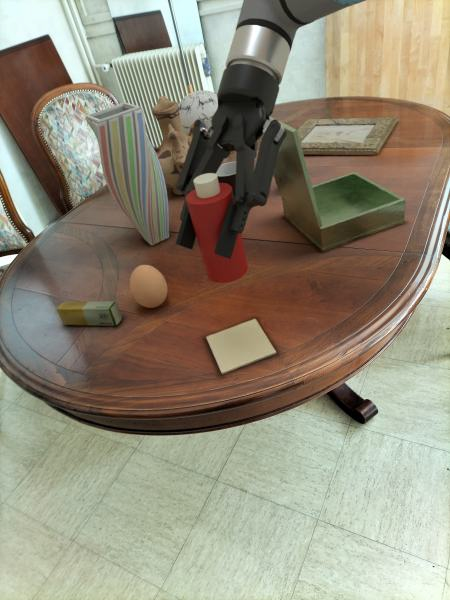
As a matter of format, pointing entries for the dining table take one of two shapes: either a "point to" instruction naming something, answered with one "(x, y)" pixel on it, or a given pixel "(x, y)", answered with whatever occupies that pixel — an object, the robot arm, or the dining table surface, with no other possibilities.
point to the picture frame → (345, 135)
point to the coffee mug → (227, 175)
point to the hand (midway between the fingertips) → (202, 251)
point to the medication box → (90, 313)
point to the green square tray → (348, 211)
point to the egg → (148, 286)
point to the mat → (240, 346)
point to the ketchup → (214, 228)
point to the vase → (132, 169)
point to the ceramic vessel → (171, 141)
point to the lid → (295, 176)
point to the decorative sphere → (197, 108)
